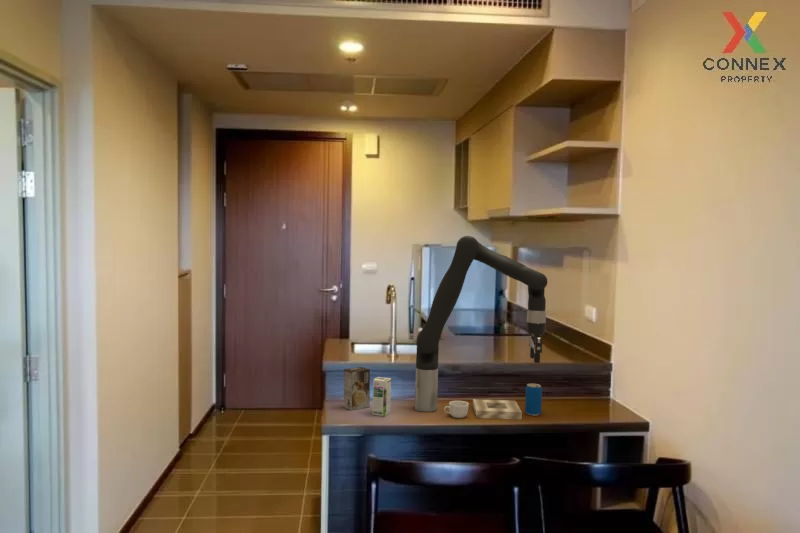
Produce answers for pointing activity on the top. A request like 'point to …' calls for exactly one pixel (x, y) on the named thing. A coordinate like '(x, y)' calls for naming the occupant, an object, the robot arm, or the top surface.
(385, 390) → the syrup box
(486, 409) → the holder plate
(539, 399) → the beverage can
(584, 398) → the top surface
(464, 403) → the teacup
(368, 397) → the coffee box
